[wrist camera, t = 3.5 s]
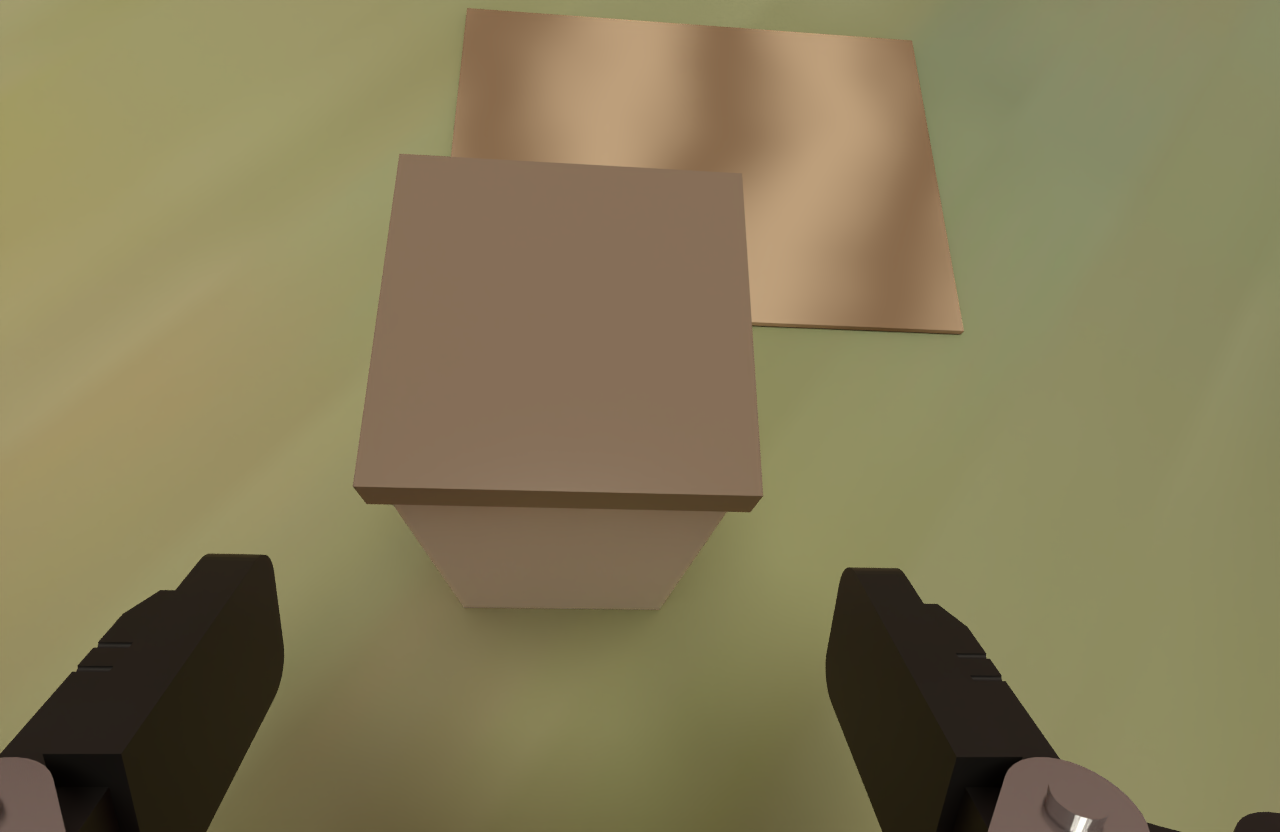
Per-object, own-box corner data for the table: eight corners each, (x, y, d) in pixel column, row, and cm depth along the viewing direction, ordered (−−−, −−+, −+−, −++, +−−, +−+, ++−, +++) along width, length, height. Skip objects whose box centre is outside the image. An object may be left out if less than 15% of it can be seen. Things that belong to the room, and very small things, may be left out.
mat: (435, 312, 24) (434, 308, 23) (467, 13, 28) (467, 8, 28) (960, 334, 25) (963, 331, 25) (909, 45, 29) (911, 40, 29)
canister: (455, 615, 20) (352, 486, 10) (471, 418, 22) (399, 153, 12) (667, 617, 21) (762, 495, 11) (663, 424, 23) (741, 173, 13)
